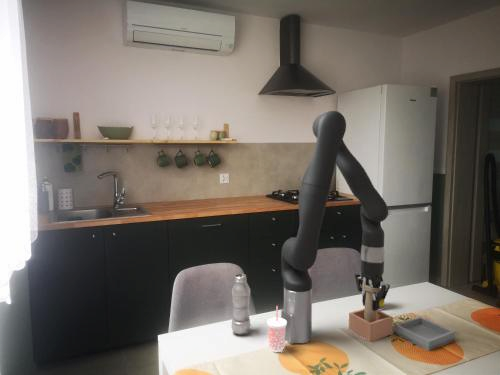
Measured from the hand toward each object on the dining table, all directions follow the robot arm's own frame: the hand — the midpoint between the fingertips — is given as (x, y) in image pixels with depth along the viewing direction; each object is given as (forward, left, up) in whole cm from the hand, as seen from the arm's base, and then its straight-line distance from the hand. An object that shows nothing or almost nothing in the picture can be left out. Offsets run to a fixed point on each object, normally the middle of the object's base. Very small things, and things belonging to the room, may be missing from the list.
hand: (370, 307), depth 125 cm
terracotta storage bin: (0, 0, -9) cm, 9 cm away
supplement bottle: (+17, +13, -9) cm, 23 cm away
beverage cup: (-34, +6, -9) cm, 35 cm away
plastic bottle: (-39, +21, -9) cm, 45 cm away
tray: (+13, -11, -9) cm, 19 cm away
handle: (0, 0, -7) cm, 7 cm away
